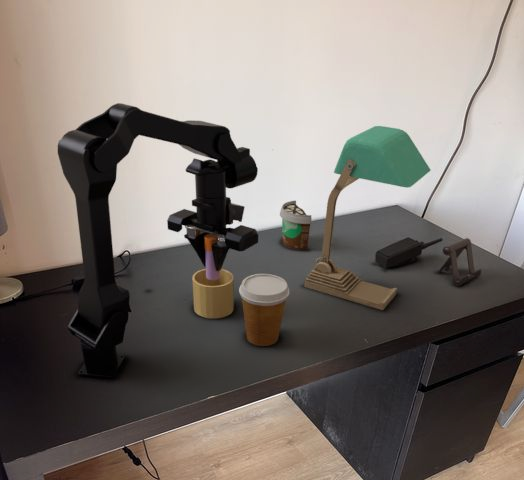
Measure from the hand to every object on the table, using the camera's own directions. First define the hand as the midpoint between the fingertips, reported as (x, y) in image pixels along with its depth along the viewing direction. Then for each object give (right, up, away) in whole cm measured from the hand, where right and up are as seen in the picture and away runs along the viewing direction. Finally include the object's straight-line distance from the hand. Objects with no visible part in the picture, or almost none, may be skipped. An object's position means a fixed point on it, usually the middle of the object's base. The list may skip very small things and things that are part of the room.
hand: (212, 268), depth 109 cm
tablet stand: (+58, +1, +22) cm, 62 cm away
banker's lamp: (+31, -3, +14) cm, 34 cm away
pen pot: (0, -8, +5) cm, 10 cm away
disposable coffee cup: (+10, -14, -3) cm, 18 cm away
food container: (+18, +12, +35) cm, 41 cm away
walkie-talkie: (+48, +7, +29) cm, 57 cm away
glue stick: (0, -2, +1) cm, 2 cm away
